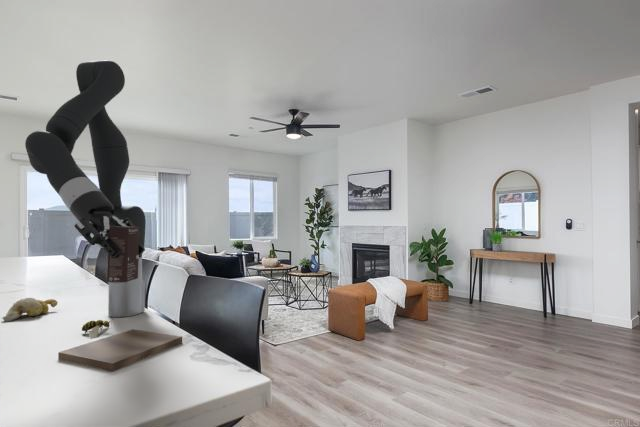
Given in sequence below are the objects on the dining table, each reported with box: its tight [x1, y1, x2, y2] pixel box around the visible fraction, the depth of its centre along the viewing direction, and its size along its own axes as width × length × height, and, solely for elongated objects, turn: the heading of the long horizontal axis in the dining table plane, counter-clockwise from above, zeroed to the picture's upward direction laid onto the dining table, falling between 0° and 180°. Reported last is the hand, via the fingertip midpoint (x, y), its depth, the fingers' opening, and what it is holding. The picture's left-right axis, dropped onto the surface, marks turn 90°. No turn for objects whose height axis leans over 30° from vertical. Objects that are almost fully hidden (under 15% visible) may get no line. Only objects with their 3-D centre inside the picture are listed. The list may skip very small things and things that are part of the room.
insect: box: [81, 318, 114, 340], centre depth 97 cm, size 11×6×5 cm, turn 15°
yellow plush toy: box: [2, 297, 59, 322], centre depth 115 cm, size 10×6×15 cm
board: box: [57, 328, 183, 372], centre depth 83 cm, size 18×16×2 cm
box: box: [106, 226, 140, 284], centre depth 83 cm, size 6×4×12 cm
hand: (130, 254), depth 83 cm, fingers closed on box, 6 cm apart
